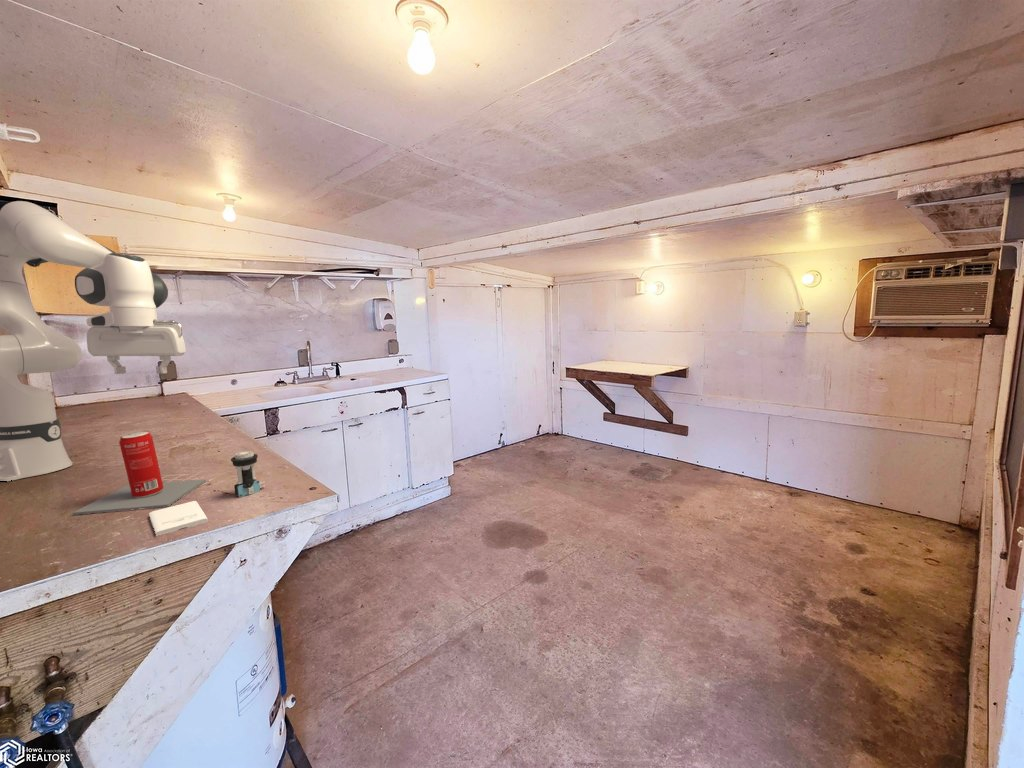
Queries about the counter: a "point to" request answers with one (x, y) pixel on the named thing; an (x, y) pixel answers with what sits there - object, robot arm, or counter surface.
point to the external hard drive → (177, 517)
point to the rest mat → (126, 501)
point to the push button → (246, 473)
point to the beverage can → (141, 464)
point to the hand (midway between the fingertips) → (141, 373)
